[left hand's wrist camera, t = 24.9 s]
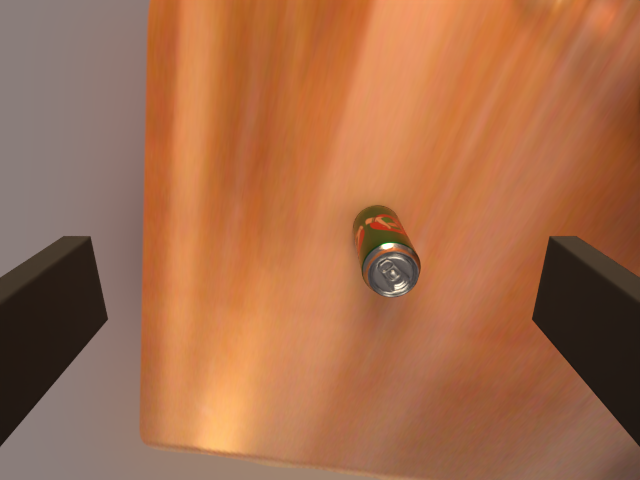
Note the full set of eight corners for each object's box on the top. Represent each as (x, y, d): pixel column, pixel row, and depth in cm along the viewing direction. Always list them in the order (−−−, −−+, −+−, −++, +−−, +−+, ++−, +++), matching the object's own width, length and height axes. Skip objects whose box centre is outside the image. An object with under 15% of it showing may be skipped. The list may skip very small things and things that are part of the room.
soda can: (371, 255, 48) (387, 311, 37) (343, 223, 47) (350, 271, 36) (408, 228, 47) (435, 278, 36) (380, 194, 46) (399, 235, 35)
